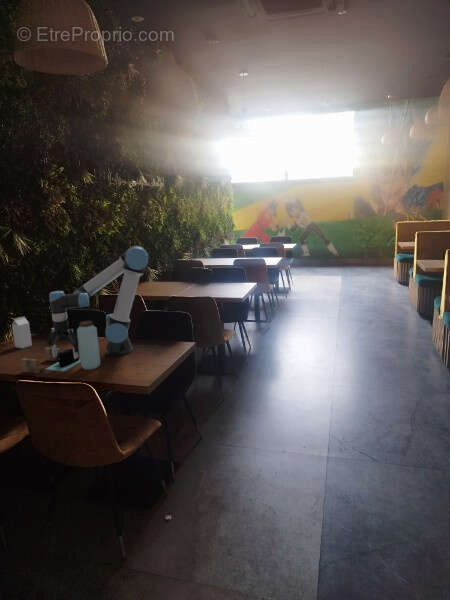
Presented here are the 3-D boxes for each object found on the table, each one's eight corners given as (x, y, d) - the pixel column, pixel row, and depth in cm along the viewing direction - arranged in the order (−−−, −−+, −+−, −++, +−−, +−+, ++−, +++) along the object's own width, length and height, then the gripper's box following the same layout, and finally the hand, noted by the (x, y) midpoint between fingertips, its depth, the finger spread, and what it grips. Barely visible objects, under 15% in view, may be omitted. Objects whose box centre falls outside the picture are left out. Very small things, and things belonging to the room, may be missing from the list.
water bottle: (89, 371, 216) (84, 325, 211) (77, 368, 221) (71, 323, 216) (104, 365, 224) (99, 320, 219) (92, 362, 229) (87, 318, 224)
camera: (72, 358, 236) (70, 344, 234) (81, 359, 233) (80, 345, 231) (52, 366, 223) (50, 352, 222) (62, 368, 220) (60, 354, 219)
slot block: (61, 360, 235) (60, 348, 233) (37, 373, 216) (35, 360, 215) (48, 359, 237) (47, 347, 236) (23, 371, 219) (21, 359, 217)
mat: (85, 359, 234) (84, 358, 234) (64, 371, 217) (64, 370, 217) (66, 358, 237) (66, 357, 237) (45, 370, 221) (45, 368, 220)
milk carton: (32, 345, 264) (28, 316, 260) (21, 348, 258) (17, 319, 254) (25, 343, 268) (21, 315, 264) (15, 347, 262) (10, 318, 258)
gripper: (84, 318, 222) (89, 356, 226) (45, 317, 229) (51, 353, 234) (75, 322, 215) (81, 361, 219) (36, 321, 222) (42, 358, 227)
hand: (65, 357), depth 227 cm, fingers open, 13 cm apart
